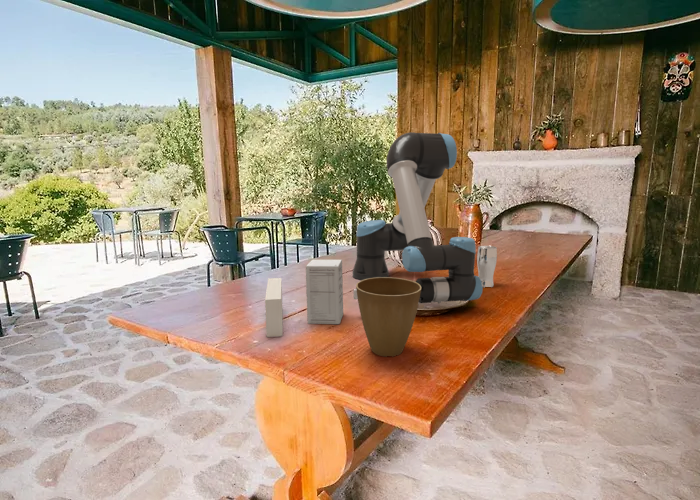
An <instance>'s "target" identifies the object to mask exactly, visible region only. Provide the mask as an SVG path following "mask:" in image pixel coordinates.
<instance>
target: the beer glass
mask: <svg viewBox="0 0 700 500" xmlns="http://www.w3.org/2000/svg"><path fill="white" fill-rule="evenodd" d="M477 247H478V249H477V253H476V255H477V256H476V263H477V271H478V277H479V278H480V280H481V282H482V287H483V288H485V287H491V288H493V287H494V285H495V284H494V283H495V282H494V273H495V271H496V270H495V269H496V266H497V260H498V259H497V258H498V256H497V255H498V253H497V252H498V249H497V248H498V247H497V246H495V245H494V246H493V245H479V246H477Z"/></svg>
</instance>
